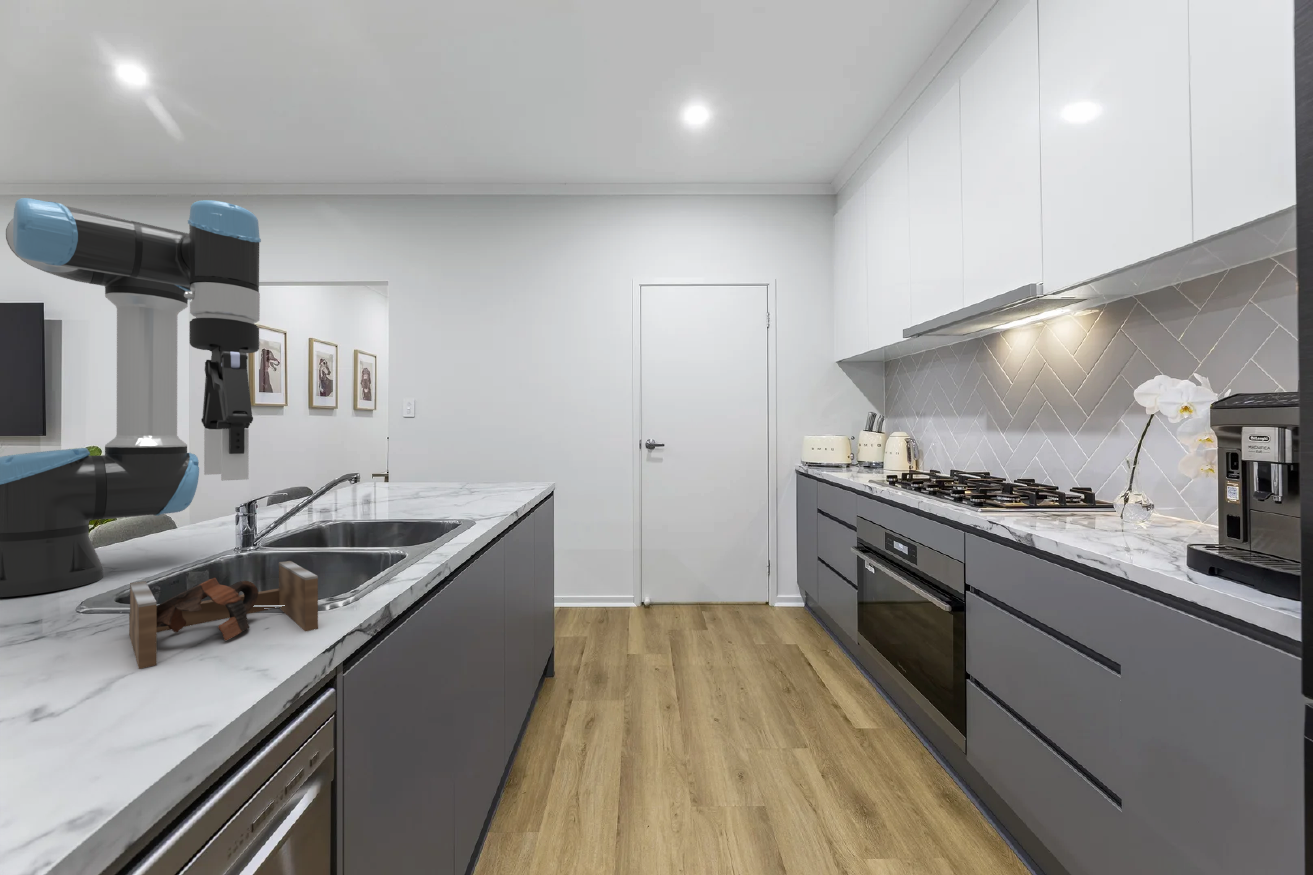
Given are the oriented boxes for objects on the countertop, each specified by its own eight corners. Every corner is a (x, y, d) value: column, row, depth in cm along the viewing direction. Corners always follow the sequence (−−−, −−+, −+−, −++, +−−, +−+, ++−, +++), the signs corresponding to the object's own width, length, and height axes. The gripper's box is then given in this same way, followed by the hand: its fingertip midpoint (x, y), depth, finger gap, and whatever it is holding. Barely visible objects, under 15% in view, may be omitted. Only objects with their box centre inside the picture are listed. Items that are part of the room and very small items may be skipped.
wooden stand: (129, 635, 74) (129, 580, 74) (287, 606, 87) (287, 559, 87) (138, 668, 63) (138, 604, 63) (317, 629, 76) (317, 575, 76)
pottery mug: (212, 652, 68) (174, 595, 67) (159, 677, 70) (122, 622, 69) (289, 604, 80) (258, 555, 79) (242, 627, 82) (211, 579, 81)
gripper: (177, 329, 82) (177, 473, 82) (204, 301, 65) (204, 484, 65) (240, 335, 87) (240, 471, 87) (280, 312, 70) (280, 480, 70)
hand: (225, 477), depth 76 cm, fingers open, 13 cm apart
